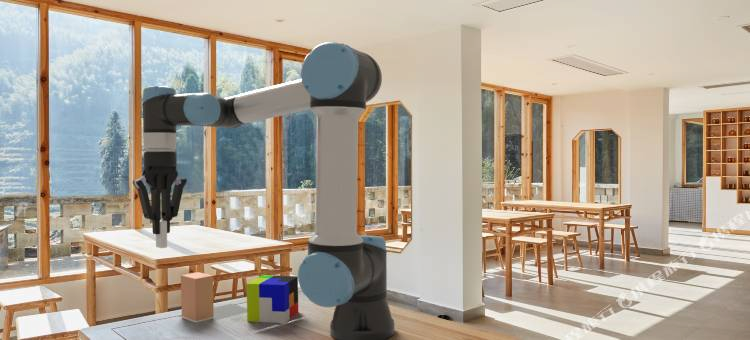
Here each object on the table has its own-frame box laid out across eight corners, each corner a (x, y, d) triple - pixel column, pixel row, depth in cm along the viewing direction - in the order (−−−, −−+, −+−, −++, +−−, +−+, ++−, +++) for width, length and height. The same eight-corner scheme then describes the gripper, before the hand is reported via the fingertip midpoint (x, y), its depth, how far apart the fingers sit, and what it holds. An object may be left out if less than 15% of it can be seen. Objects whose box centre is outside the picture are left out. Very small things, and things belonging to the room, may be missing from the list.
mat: (254, 312, 149) (254, 310, 149) (200, 326, 137) (200, 324, 137) (230, 305, 156) (230, 303, 156) (177, 317, 145) (177, 316, 145)
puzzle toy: (284, 325, 138) (284, 285, 137) (247, 323, 140) (246, 283, 139) (298, 313, 147) (297, 276, 147) (263, 312, 149) (262, 275, 149)
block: (213, 318, 142) (212, 275, 142) (195, 322, 139) (194, 278, 138) (199, 313, 147) (198, 271, 147) (181, 317, 143) (180, 275, 143)
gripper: (177, 150, 142) (178, 242, 143) (126, 150, 133) (128, 248, 133) (192, 150, 137) (193, 245, 138) (140, 150, 128) (142, 252, 128)
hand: (161, 247), depth 136 cm, fingers closed
